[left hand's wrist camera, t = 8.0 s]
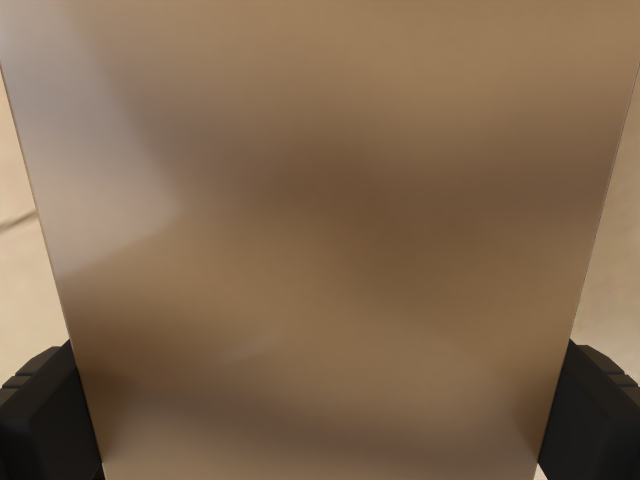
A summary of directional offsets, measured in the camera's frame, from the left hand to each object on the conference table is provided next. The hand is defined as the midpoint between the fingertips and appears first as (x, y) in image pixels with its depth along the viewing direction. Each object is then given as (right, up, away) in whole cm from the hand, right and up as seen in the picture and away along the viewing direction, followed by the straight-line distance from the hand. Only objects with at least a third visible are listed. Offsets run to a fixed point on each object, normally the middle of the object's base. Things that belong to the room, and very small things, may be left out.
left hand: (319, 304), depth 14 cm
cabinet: (0, +7, +3) cm, 8 cm away
